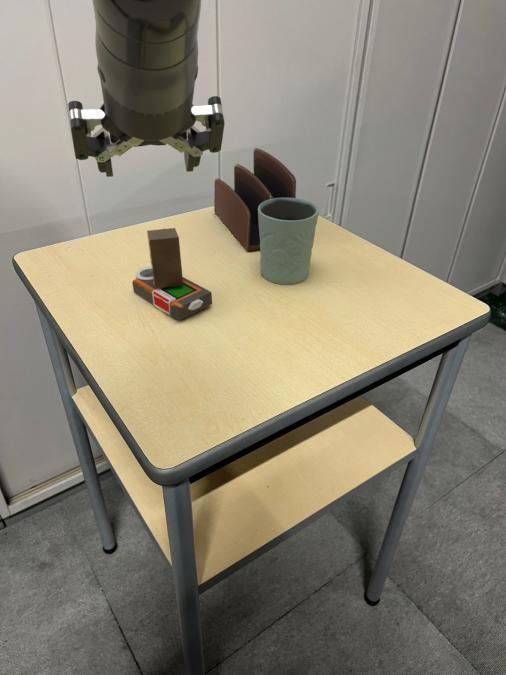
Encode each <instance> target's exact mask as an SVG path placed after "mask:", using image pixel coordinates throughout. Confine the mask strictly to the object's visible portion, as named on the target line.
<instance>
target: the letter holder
mask: <svg viewBox="0 0 506 675" xmlns="http://www.w3.org/2000/svg"><path fill="white" fill-rule="evenodd" d="M252 159H253V172H252V171H250V170H249V169H248V168H246V167H245V166H243V165H241V164H239V163H236V164H234V166H233V183H234V184H233V186H234V187H233V188H232V187H231V186H230V185H229V184H227V182H225V181H224V180H222V179H221V178H218V177H217V178H215V179H214V184H213V185H214V186H213V188H214V193H213V194H214V195H213V196H214V198H213V200H214V202H213V204H214V205H213V208H214V209H213V211H214V213H215V215H217V217H218V219H220V220H221V222H222V223H223V224H224V225H225V227H227V229H228V230H229V232H230V233H231V234H232V235H233V236H234V237H235V238H236V240H237V241H238V242H239V243H240V244H241V246H242V247H243V248H244V249H245V251H247V252H253V251H260V235H259V221H258V206H259V205H260V204H261V203H262V202H264V201H266V200H270V199H274V198H296V195H297V194H296V193H297V180H296V177H295V175H294V174H293V173H292V172H291V171H290V169H288V168H287V166H286V165H284V164H283V163H282V162H281V161H280V160H279V159H277V158H276V157H274V156H273V155H272V154H270V153H269V152H267V151H265V150H263V149H260V148H259V147H258V148H257V147H255V148H253V158H252Z"/></svg>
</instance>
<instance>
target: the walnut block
mask: <svg viewBox="0 0 506 675" xmlns="http://www.w3.org/2000/svg"><path fill="white" fill-rule="evenodd" d="M146 235H147V242H148V250H149V258H150V267H152V275H153V281H154V285H155V289H157V288H165V287H173V286H182V285H183V277H184V276H183V268H182V256H181V247H180V246H181V245H180V236H179V234H178V232H177V229H176V227H172V228H171V227H170V228H159V229H151V230H146Z"/></svg>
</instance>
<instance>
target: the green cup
mask: <svg viewBox="0 0 506 675" xmlns="http://www.w3.org/2000/svg"><path fill="white" fill-rule="evenodd" d="M319 212H320V209H319V207H318V206H317V205H316V204H315V203H313V202H312V201H308V200H305V199H302V198H274V199H270V200H266V201H264V202H262V203H261V204H260V205H259V206H258V221H259V235H260V250H259V252H260V261H259V265H260V275H261V276H262V278H264V279H265V280H266V281H269V282H270V283H273V284H276V285H283V286H285V285H286V286H287V285H289V286H291V285H297V284H300V283H302V282H304V281H305V280H306V279H308V276H309V274H310V268H311V259H312V255H313V247H314V242H315V235H316V229H317V224H318V219H319Z"/></svg>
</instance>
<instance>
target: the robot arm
mask: <svg viewBox="0 0 506 675" xmlns="http://www.w3.org/2000/svg"><path fill="white" fill-rule="evenodd" d="M92 7H93V14H94V21H95V37H94V38H95V41H94V43H95V54H96V59H97V60H96V61H97V66H96V67H97V68H96V69H97V73H98V76H99V81H100V87H101V93H102V100H103V102H102V104H101V105H100V107H99V109H84V107H83V103H82V102H80V101H78V100H70V101H69V102H68V103H67V106H68V113H69V114H68V116H69V123H70V132H71V137H72V144H73V151H74V156H75V159H77V160H78V161H86V160H88V159H89V157H92V158H94V159H95V161H96V164H97V168H98V172H100V173H101V174H104V173H106V174H105V175H106V178H110V177H114V170H113V164H112V158H113V157H114V156H117V157H121V156H122V155H124V154H125V153H126V152H128V151H129V150H131V149H132V148H136V147H139V148H140V147H147V146H167V145H169V146H170V147H172V148H173V149H175V150H176V151H178V152H179V153H181V154H183V158H184V166H185V172H187V173H188V172H189V173H191V172H194V170H195V169H194V168H197V167H199V166H200V163H201V158H202V156H203V155H204V152H205V151H209V152H210V153H212V154H215V153H219V152H221V150H222V146H223V139H224V130H225V125H226V124H225V117H224V110H223V105H222V98H221V97H220V96H218V95H214V96H211V97H209V98H208V100H207V105H206V104H205V105H194V104H193V102H194V94H195V85H196V80H197V78H198V73H199V64H198V63H199V62H198V61H199V42H198V34H199V25H200V17H201V9H202V0H92ZM196 122H200V124H201V126H202V127H205V130H203V131H200V129H198V128H197V127H196V126H194V125H195V124H196ZM100 125H101V127H100V128H99V129H98V130H97V131H96V132H95V133H93V134H92V132H94V130H95V129H96V127H97V126H100Z"/></svg>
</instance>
